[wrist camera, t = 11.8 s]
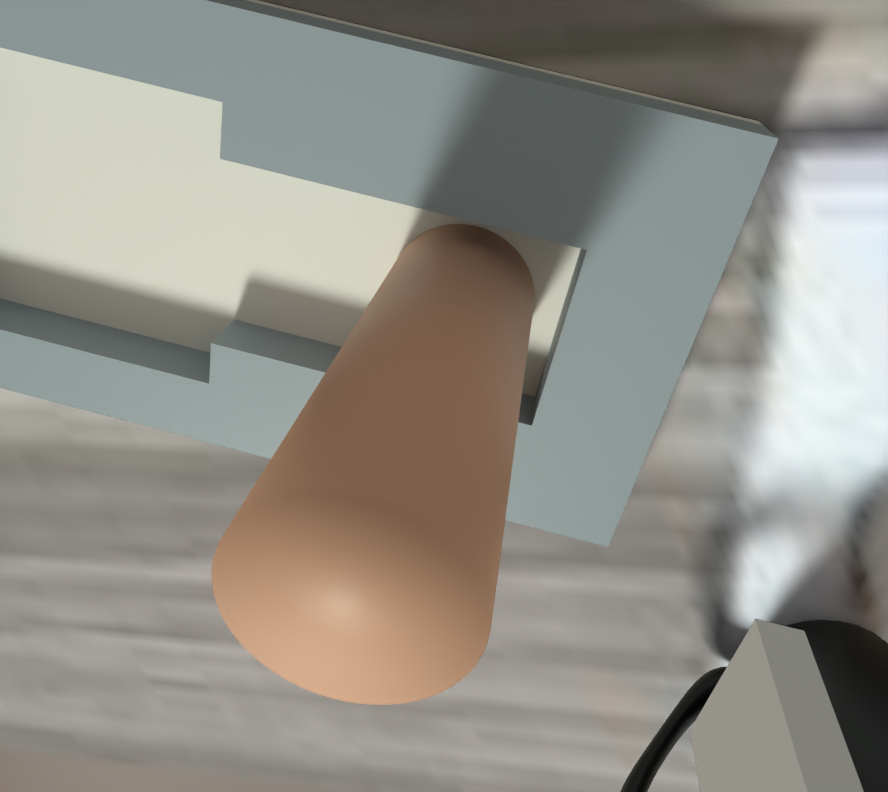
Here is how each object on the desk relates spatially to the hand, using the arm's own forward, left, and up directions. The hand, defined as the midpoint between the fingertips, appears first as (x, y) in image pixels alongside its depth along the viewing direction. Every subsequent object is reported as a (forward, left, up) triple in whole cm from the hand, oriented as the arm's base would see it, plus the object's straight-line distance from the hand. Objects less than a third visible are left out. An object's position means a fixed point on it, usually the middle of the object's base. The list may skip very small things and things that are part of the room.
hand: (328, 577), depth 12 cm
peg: (0, 0, -13) cm, 13 cm away
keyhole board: (-5, 0, -13) cm, 14 cm away
